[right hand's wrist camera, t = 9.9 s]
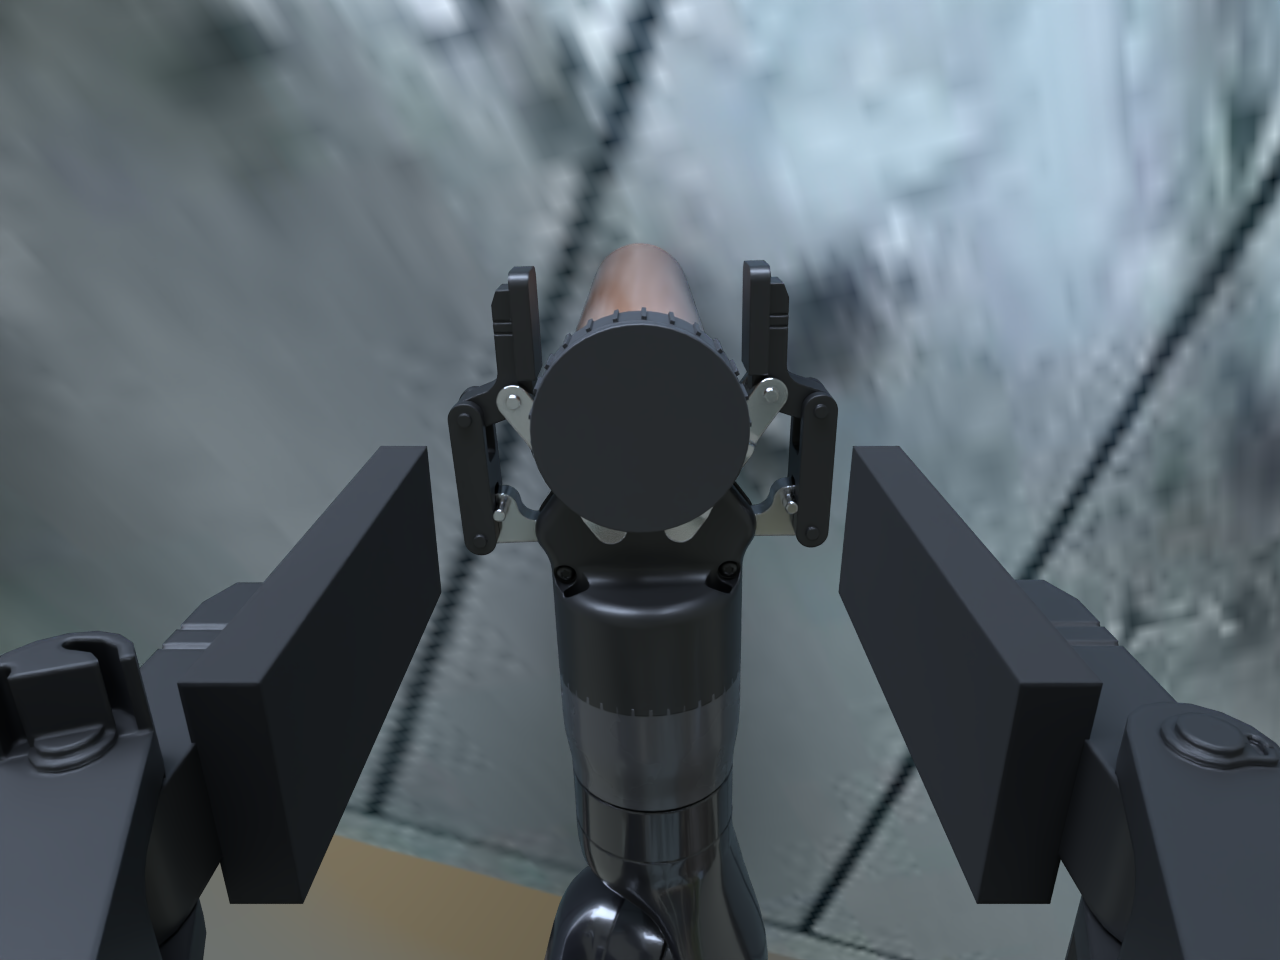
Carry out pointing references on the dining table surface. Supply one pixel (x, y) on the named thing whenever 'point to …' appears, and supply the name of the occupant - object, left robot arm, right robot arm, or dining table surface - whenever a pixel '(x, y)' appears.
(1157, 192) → the dining table surface
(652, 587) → the left robot arm
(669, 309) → the jar
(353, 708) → the right robot arm
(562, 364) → the lid
